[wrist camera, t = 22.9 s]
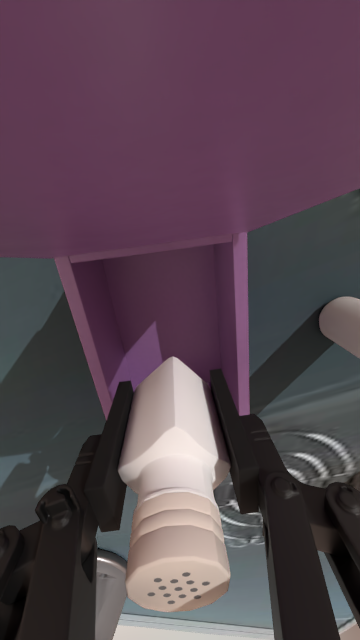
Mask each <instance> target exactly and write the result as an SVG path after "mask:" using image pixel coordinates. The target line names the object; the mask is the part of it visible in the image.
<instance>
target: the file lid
mask: <svg viewBox="0 0 360 640" xmlns="http://www.w3.org/2000/svg"><path fill="white" fill-rule="evenodd" d="M359 188H360V0H0V257H17V258H57V257H64V256H72V255H79V254H87V253H94V252H101V251H109V250H116V249H124V248H131V247H139V246H146V245H153V244H161V243H168V242H176V241H183V240H191V239H198V238H205V237H213V236H220V235H228V234H235V233H243V232H250V231H252V230H255V229H257V228H260V227H262V226H265V225H267V224H270V223H273V222H275V221H278V220H280V219H283V218H285V217H288V216H290V215H293V214H295V213H298V212H300V211H303V210H306V209H308V208H311V207H313V206H316V205H318V204H321V203H323V202H326V201H328V200H331V199H333V198H336V197H339V196H341V195H344V194H346V193H349V192H351V191H354V190H356V189H359Z"/></svg>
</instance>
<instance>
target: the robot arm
mask: <svg viewBox="0 0 360 640" xmlns="http://www.w3.org/2000/svg"><path fill="white" fill-rule="evenodd" d="M210 382H211V392H212V395H213V399H214V403H215V407H216V410H217V414H218V418H219V421H220V425H221V429H222V433H223V436H224V440H225V444H226V447H227V451H228V455H229V459H230V462H231V468H230V474H231V478H232V482H233V486H234V490H235V494H236V498H237V502H238V506H239V509H240V513H241V514H246V513H253V512H259V507H260V510H261V514H262V517H263V536H264V541H265V551H266V560H267V570H268V580H269V590H270V600H271V609H272V619H273V629H274V639H275V640H340V636H339V632H338V628H337V625H336V621H335V617H334V613H333V609H332V605H331V602H330V598H329V594H328V590H327V586H326V582H325V579H324V575H323V571H322V567H321V563H320V559H319V556H318V552H317V550H319V551H322V552H324V553H325V556H326V558H327V560H328V562H329V564H330V566H331V568H332V570H333V573H334V575H335V577H336V579H337V581H338V583H339V585H340V587H341V590H342V592H343V594H344V596H345V598H346V600H347V602H348V605H349V607H350V609H351V611H352V613H353V615H354V617H355V619H356V622H357V624H358V626H359V628H360V492H359V491H358V490H356V489H355V488H353V487H352V486H350V485H347V484H345V483H340V482H334V483H331V484H329V486H328V487H327V488H326V489H324V488H319V487H314V486H310V485H306V484H303V483H301V482H300V481H298V480H296V479H295V478H294V477H292V475H291V474H290V473H289V472H288V471H287V469H286V468H285V466H284V464H283V462H282V460H281V458H280V456H279V454H278V452H277V450H276V448H275V446H274V444H273V442H272V440H271V438H270V436H269V434H268V432H267V430H266V427H265V425H264V423H263V421H262V420H261V419H260V418H259V417H257V416H256V415H255V414H250V415H242V416H239V414H238V411H237V409H236V406H235V404H234V401H233V398H232V396H231V393H230V391H229V388H228V385H227V383H226V380H225V378H224V375H223V372H222V370H221V369H214V370H210ZM133 395H134V391H133V387H132V383H131V380H130V381H122V382H119V384H118V387H117V390H116V393H115V396H114V399H113V402H112V405H111V408H110V411H109V414H108V417H107V420H106V423H105V427H104V430H103V433H102V434H101V435H93V436H90V437H89V438H88V439H87V440H86V442H85V443H84V444H83V446H82V448H81V451H80V453H79V457H78V458H77V461H76V463H75V466H74V468H73V470H72V473H71V475H70V478H69V480H68V483H67V485H66V484H63V485H58V486H56V487H54V488H52V489H50V490H49V491H48V492H47V493H46V494H45V495H44V496H43V497H42V498H41V500H40V501H39V502H38V504H37V507H36V509H35V512H36V514H37V515H38V517H39V519H40V521H38V522H36V523H34V524H32V525H30V526H28V527H26V528H24V529H22V530H20V531H19V530H18V529H17V528H16V526H10V525H9V526H6V527H3V528H1V529H0V640H112V639H113V636H114V633H115V630H116V627H117V624H118V621H119V618H120V615H121V612H122V609H123V606H124V603H125V599H126V596H127V590H126V584H125V578H126V570H127V562H126V561H125V560H124V559H123V558H121V557H120V556H118V555H116V554H114V553H111V552H108V551H105V550H100V549H97V541H96V538H95V536H96V532H97V528H98V525H99V528H100V530H101V532H108V531H115V530H119V529H120V523H121V517H122V511H123V505H124V499H125V493H126V487H127V484H125V483H124V482H123V481H122V479H121V477H120V475H119V472H118V464H119V460H120V455H121V450H122V446H123V441H124V437H125V432H126V427H127V423H128V418H129V413H130V409H131V404H132V399H133Z"/></svg>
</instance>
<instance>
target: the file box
mask: <svg viewBox="0 0 360 640" xmlns="http://www.w3.org/2000/svg"><path fill="white" fill-rule="evenodd" d="M54 260H55V263H56V266H57V269H58V272H59V275H60V278H61V281H62V284H63V288H64V291H65V294H66V297H67V300H68V303H69V306H70V309H71V312H72V315H73V319H74V322H75V325H76V328H77V331H78V334H79V337H80V340H81V343H82V347H83V350H84V353H85V356H86V359H87V362H88V365H89V368H90V371H91V375H92V378H93V381H94V384H95V387H96V390H97V393H98V396H99V399H100V403H101V406H102V409H103V412H104V415H105V418H106V420H107V417H108V414H109V411H110V408H111V405H112V402H113V399H114V396H115V393H116V390H117V387H118V384H119V382H122V381H130V380H131V383H132V387H133V391H135V389H136V387H137V386H138V385H139V384H140V383H141V382H142V381H143V380H144V379H145V378H147V377H148V376H149V375H150V374H151V373H152V372H153V371H154V370H156V369H157V368H158V367H159V366H160V365H161V364H162V363H163V362H165V361H166V360H167V359H168V358H170V357H172V356H173V357H176V358H178V359H179V360H180V361H181V362H183V363H184V364H185V365H186V366H187V367H188V368H190V369H191V370H192V371H193V372H194V373H195V374H197V375H198V376H199V377H200V378H201V379H202V380H204V381H205V382H206V383H207V384H208V385H209V386H210V389H211V382H210V370H214V369H221V370H222V372H223V375H224V378H225V380H226V383H227V385H228V388H229V391H230V393H231V396H232V398H233V401H234V404H235V406H236V409H237V411H238V414H239V416H242V415H250V409H249V338H248V267H247V232H243V233H235V234H228V235H220V236H213V237H205V238H198V239H191V240H183V241H176V242H168V243H161V244H153V245H146V246H139V247H131V248H124V249H116V250H109V251H101V252H94V253H87V254H79V255H72V256H64V257H57V258H54Z"/></svg>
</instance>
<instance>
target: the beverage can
mask: <svg viewBox="0 0 360 640" xmlns="http://www.w3.org/2000/svg"><path fill="white" fill-rule="evenodd" d="M319 326H320V330H321V332H322V333H323V335H325V336H326V337H328V338H329V339H331V340H332V341H334V342H335V343H337V344H338V345H340V346H341V347H343V348H344V349H346V350H347V351H349V352H350V353H352V354H354V355H355V356H357V357H358V358H360V299H357V298H353V297H340V298H337V299H335V300H333V301H331V302H329V303H328V304H327V305H326V306H325V307H324V308H323V310H322V311H321V313H320V317H319Z"/></svg>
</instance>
